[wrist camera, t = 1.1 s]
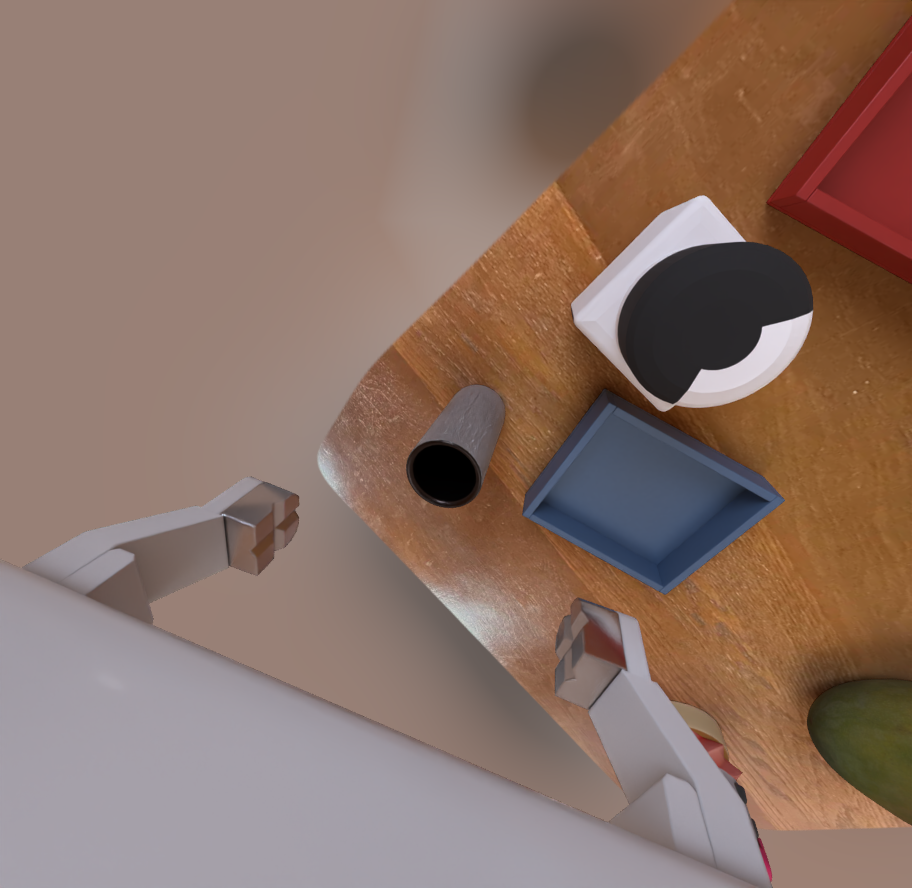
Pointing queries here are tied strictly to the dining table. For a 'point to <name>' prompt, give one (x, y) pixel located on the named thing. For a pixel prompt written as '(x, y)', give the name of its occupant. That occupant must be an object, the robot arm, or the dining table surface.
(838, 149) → the red tray
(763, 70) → the dining table surface
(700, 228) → the medicine bottle
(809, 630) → the dining table surface
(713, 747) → the cake
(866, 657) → the dining table surface
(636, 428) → the blue tray
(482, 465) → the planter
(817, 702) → the fruit
